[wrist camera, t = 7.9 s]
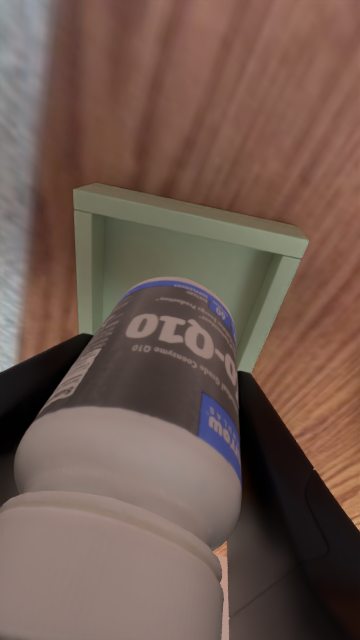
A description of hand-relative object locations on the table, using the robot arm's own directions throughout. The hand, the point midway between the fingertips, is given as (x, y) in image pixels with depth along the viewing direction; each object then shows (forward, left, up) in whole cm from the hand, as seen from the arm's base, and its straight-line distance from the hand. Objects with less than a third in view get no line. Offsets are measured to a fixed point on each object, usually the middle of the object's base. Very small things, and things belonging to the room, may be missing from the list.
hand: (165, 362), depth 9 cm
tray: (-10, 0, -7) cm, 12 cm away
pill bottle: (0, 0, -2) cm, 2 cm away
